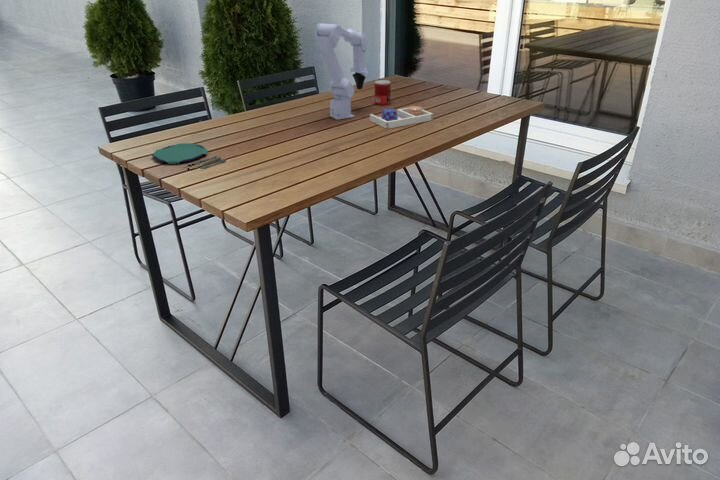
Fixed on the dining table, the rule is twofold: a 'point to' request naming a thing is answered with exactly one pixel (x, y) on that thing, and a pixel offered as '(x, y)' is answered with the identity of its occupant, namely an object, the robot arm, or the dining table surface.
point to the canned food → (382, 92)
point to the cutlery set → (184, 154)
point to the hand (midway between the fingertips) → (359, 88)
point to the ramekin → (415, 110)
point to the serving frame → (406, 119)
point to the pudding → (389, 115)
